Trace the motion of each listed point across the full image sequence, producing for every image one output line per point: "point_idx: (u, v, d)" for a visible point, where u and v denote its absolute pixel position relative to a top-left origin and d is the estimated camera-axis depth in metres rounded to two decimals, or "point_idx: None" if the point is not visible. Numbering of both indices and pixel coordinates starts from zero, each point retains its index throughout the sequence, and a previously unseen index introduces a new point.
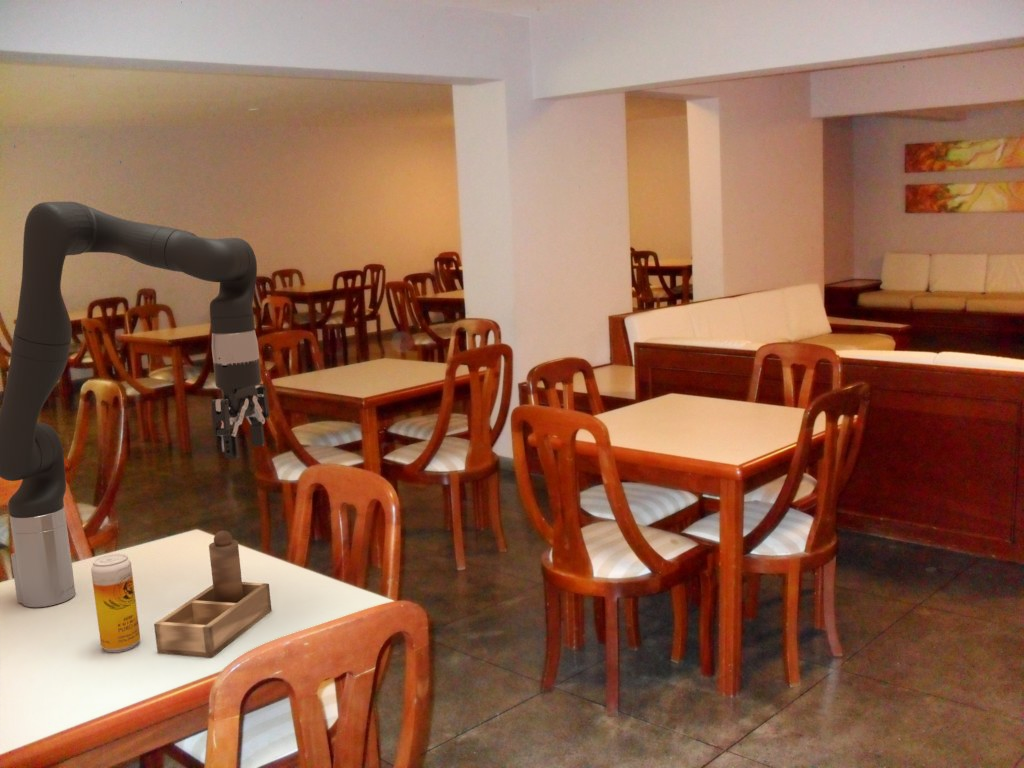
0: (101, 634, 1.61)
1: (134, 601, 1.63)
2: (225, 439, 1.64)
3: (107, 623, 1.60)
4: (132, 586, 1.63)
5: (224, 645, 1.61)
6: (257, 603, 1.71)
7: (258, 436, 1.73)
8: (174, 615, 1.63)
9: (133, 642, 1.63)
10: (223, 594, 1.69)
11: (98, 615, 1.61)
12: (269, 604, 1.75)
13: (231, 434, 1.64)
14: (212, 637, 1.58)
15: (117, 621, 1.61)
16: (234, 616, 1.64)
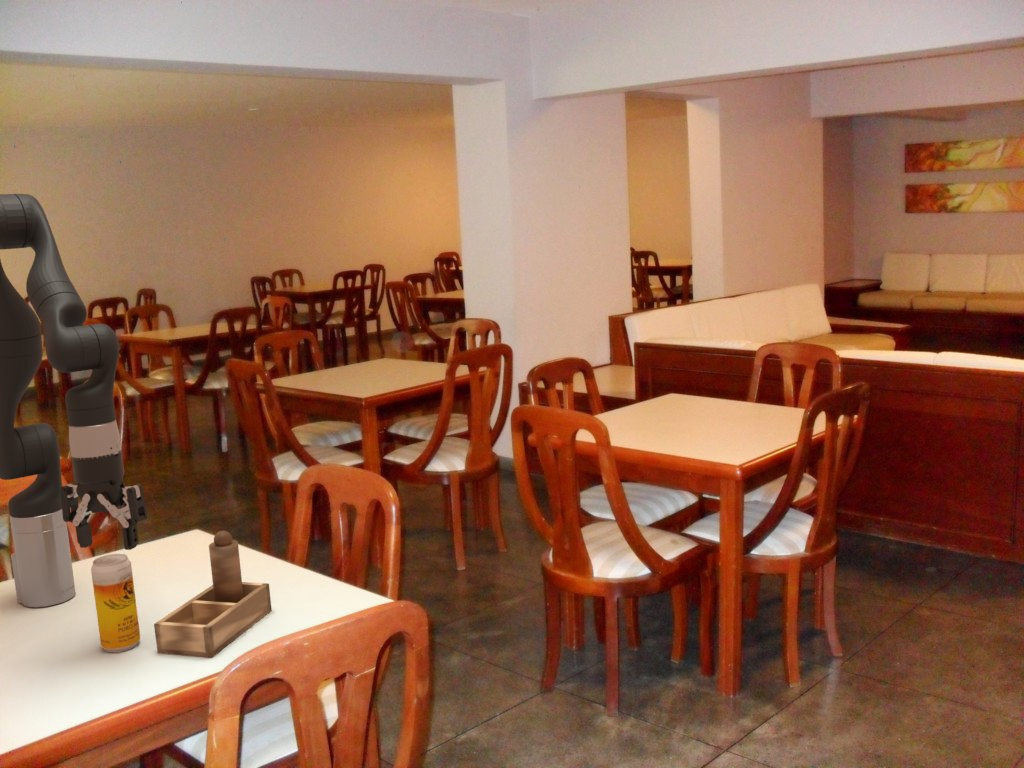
0: (101, 634, 1.61)
1: (134, 601, 1.63)
2: (132, 528, 1.59)
3: (107, 623, 1.60)
4: (132, 586, 1.63)
5: (224, 645, 1.61)
6: (257, 603, 1.71)
7: (88, 535, 1.62)
8: (174, 615, 1.63)
9: (133, 642, 1.63)
10: (223, 594, 1.69)
11: (98, 615, 1.61)
12: (269, 604, 1.75)
13: None
14: (212, 637, 1.58)
15: (117, 621, 1.61)
16: (234, 616, 1.64)
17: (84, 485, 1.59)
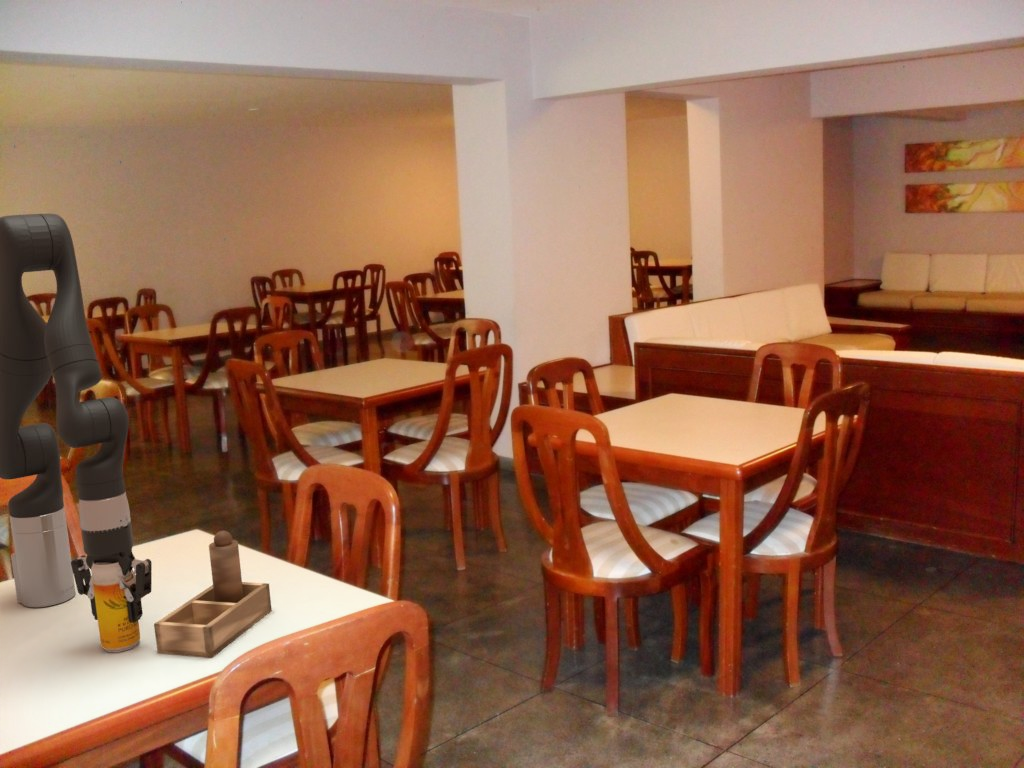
0: (101, 634, 1.61)
1: None
2: (137, 601, 1.61)
3: (107, 623, 1.60)
4: None
5: (224, 645, 1.61)
6: (257, 603, 1.71)
7: None
8: (174, 615, 1.63)
9: (133, 642, 1.63)
10: (223, 594, 1.69)
11: (98, 614, 1.61)
12: (269, 604, 1.75)
13: None
14: (212, 637, 1.58)
15: (117, 621, 1.61)
16: (234, 616, 1.64)
17: (94, 556, 1.61)
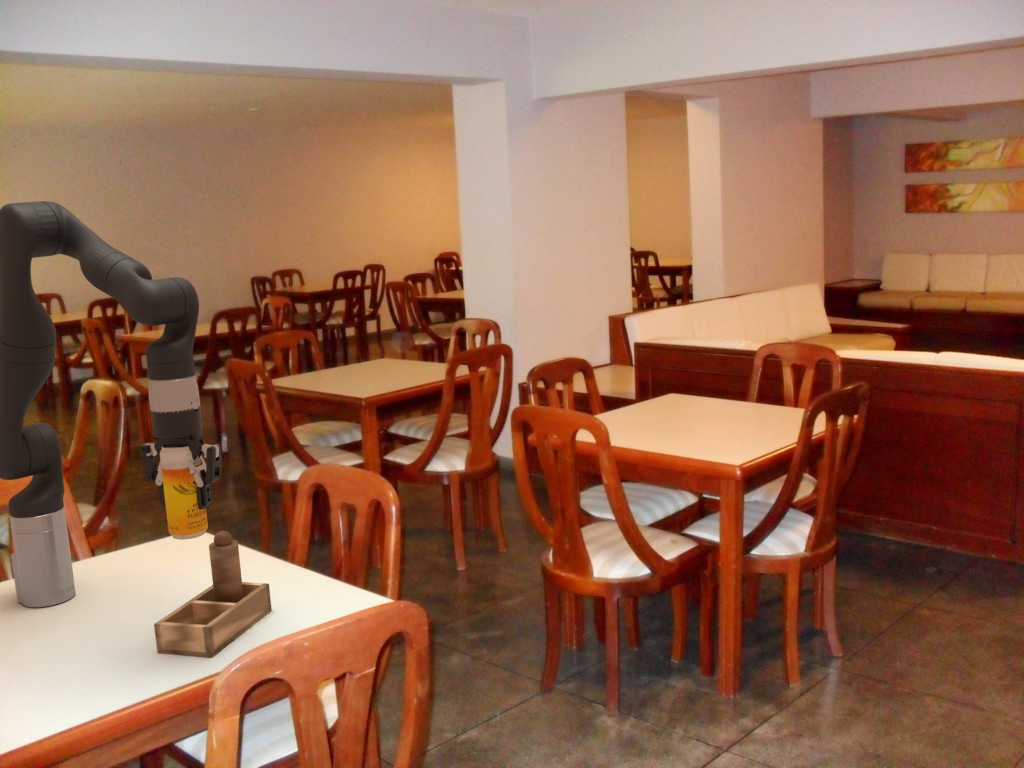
0: (170, 521, 1.58)
1: None
2: (206, 487, 1.58)
3: (176, 508, 1.57)
4: None
5: (224, 645, 1.61)
6: (257, 603, 1.71)
7: None
8: (174, 615, 1.63)
9: (202, 530, 1.59)
10: (223, 594, 1.69)
11: (167, 500, 1.57)
12: (269, 604, 1.75)
13: None
14: (212, 637, 1.58)
15: (186, 507, 1.57)
16: (234, 616, 1.64)
17: (163, 440, 1.58)
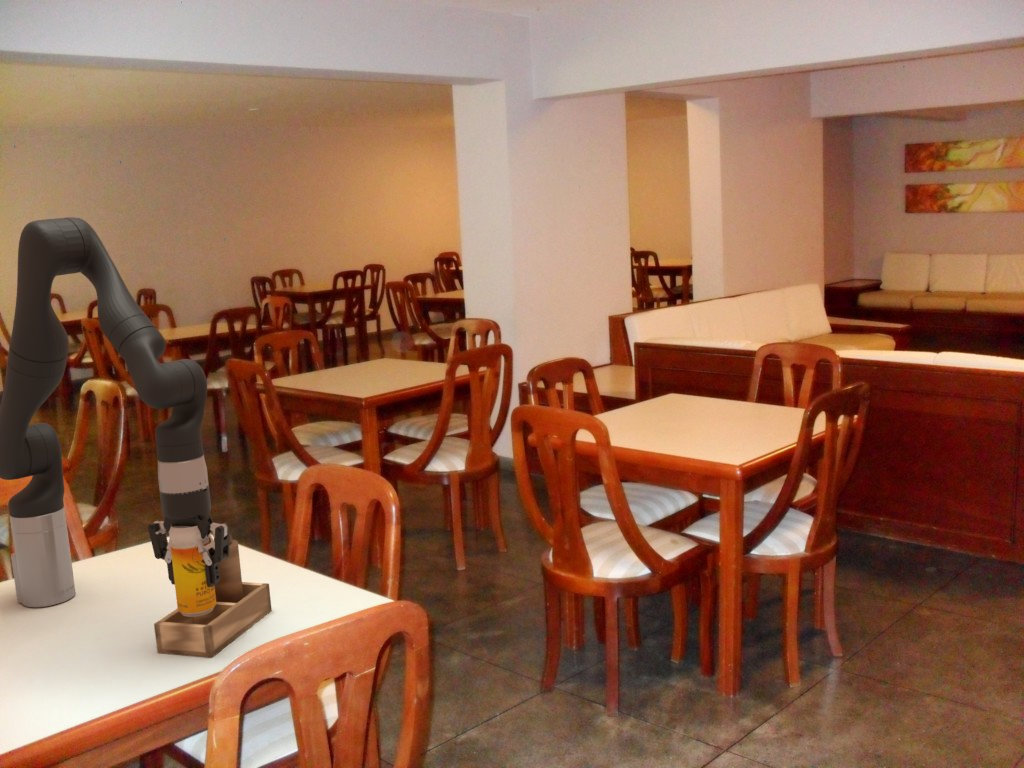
0: (179, 598, 1.60)
1: None
2: (215, 565, 1.60)
3: (185, 587, 1.59)
4: (209, 550, 1.61)
5: (224, 645, 1.61)
6: (257, 603, 1.71)
7: None
8: (174, 615, 1.63)
9: (210, 607, 1.61)
10: (223, 594, 1.69)
11: (176, 579, 1.60)
12: (269, 604, 1.75)
13: None
14: (212, 637, 1.58)
15: (195, 585, 1.59)
16: (234, 616, 1.64)
17: (172, 519, 1.60)
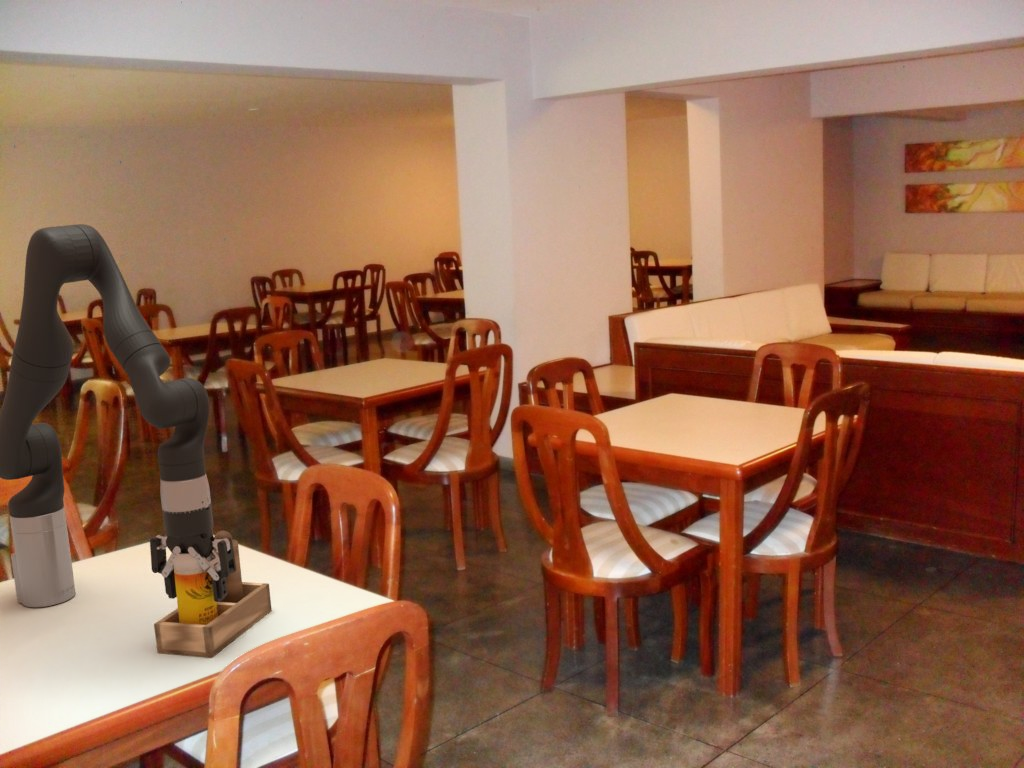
0: None
1: None
2: (222, 580, 1.60)
3: (188, 613, 1.60)
4: None
5: (224, 645, 1.61)
6: (257, 603, 1.71)
7: None
8: (174, 615, 1.63)
9: None
10: None
11: (180, 605, 1.61)
12: (269, 604, 1.75)
13: None
14: (212, 637, 1.58)
15: (198, 611, 1.60)
16: (234, 616, 1.64)
17: (174, 537, 1.60)
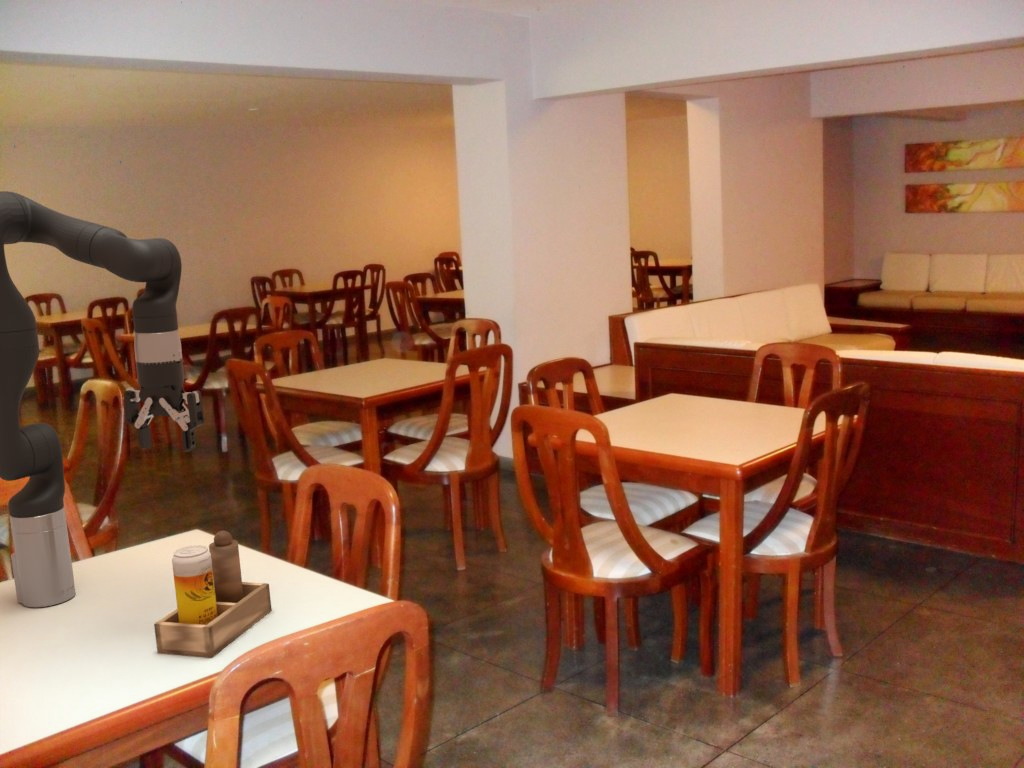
0: None
1: (214, 593, 1.63)
2: (191, 431, 1.70)
3: (188, 614, 1.60)
4: (212, 578, 1.62)
5: (224, 645, 1.61)
6: (257, 603, 1.71)
7: (148, 437, 1.73)
8: (174, 615, 1.63)
9: None
10: (223, 594, 1.69)
11: (179, 606, 1.60)
12: (269, 604, 1.75)
13: None
14: (212, 637, 1.58)
15: (198, 613, 1.60)
16: (234, 616, 1.64)
17: (147, 390, 1.70)
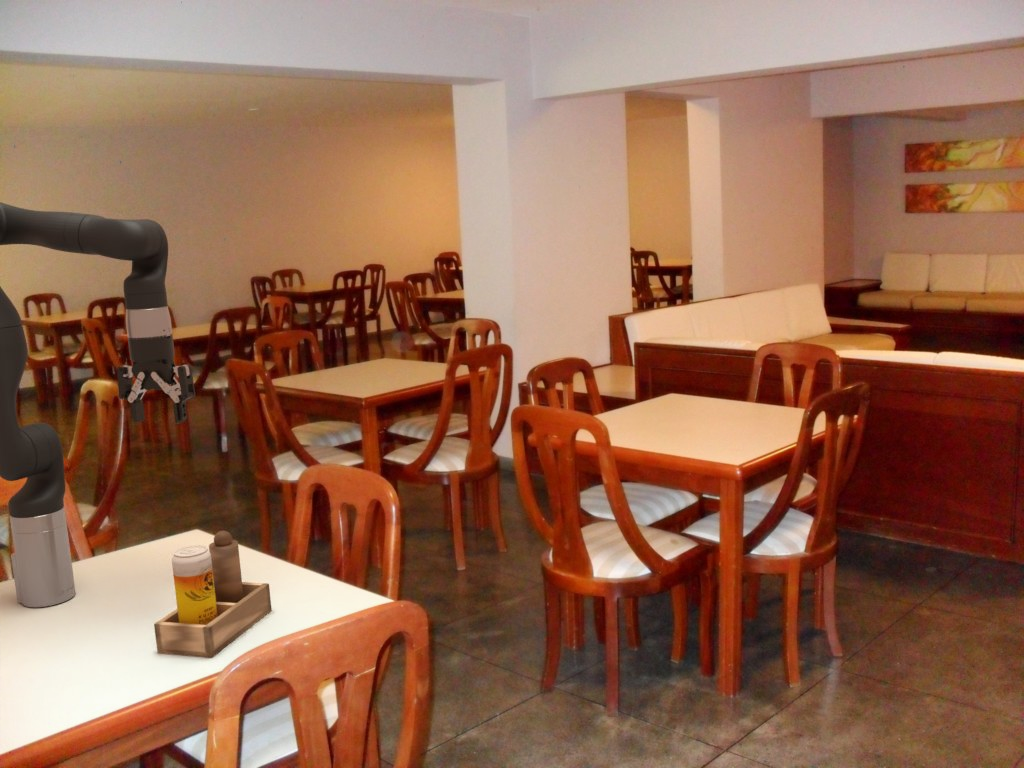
0: None
1: (214, 593, 1.63)
2: (182, 404, 1.77)
3: (188, 614, 1.60)
4: (212, 577, 1.62)
5: (224, 645, 1.61)
6: (257, 603, 1.71)
7: (141, 412, 1.80)
8: (174, 615, 1.63)
9: None
10: (223, 594, 1.69)
11: (179, 606, 1.60)
12: (269, 604, 1.75)
13: None
14: (212, 637, 1.58)
15: (198, 613, 1.60)
16: (234, 616, 1.64)
17: (139, 365, 1.77)
